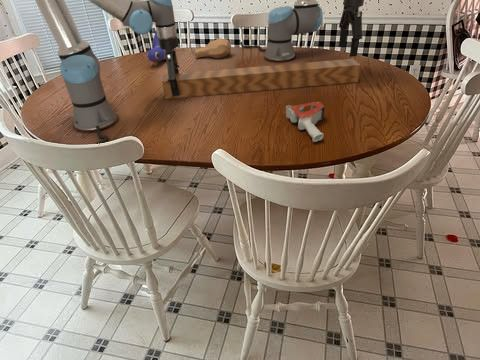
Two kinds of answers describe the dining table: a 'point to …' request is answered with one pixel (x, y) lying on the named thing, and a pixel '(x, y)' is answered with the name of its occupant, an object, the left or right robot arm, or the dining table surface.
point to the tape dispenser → (307, 118)
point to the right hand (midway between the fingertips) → (347, 51)
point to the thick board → (263, 78)
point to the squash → (215, 49)
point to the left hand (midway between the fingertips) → (176, 89)
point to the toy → (156, 51)
